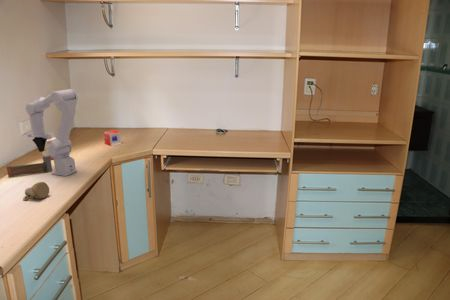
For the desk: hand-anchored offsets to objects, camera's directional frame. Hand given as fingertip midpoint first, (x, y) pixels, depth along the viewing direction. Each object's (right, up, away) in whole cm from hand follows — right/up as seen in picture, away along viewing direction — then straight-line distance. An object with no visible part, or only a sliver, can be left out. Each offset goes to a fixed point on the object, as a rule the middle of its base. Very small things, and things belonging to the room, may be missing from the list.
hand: (41, 151), depth 190 cm
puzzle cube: (+23, +4, +48) cm, 53 cm away
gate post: (+5, -10, -2) cm, 12 cm away
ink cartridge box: (-3, -5, +18) cm, 19 cm away
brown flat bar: (-4, -12, -7) cm, 14 cm away
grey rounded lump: (+15, -20, -34) cm, 42 cm away
